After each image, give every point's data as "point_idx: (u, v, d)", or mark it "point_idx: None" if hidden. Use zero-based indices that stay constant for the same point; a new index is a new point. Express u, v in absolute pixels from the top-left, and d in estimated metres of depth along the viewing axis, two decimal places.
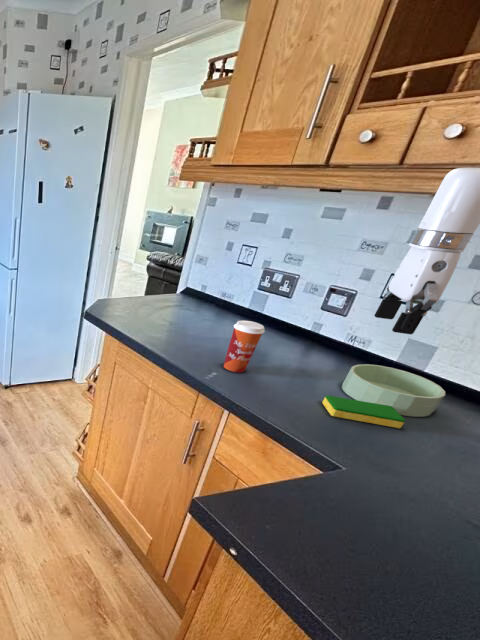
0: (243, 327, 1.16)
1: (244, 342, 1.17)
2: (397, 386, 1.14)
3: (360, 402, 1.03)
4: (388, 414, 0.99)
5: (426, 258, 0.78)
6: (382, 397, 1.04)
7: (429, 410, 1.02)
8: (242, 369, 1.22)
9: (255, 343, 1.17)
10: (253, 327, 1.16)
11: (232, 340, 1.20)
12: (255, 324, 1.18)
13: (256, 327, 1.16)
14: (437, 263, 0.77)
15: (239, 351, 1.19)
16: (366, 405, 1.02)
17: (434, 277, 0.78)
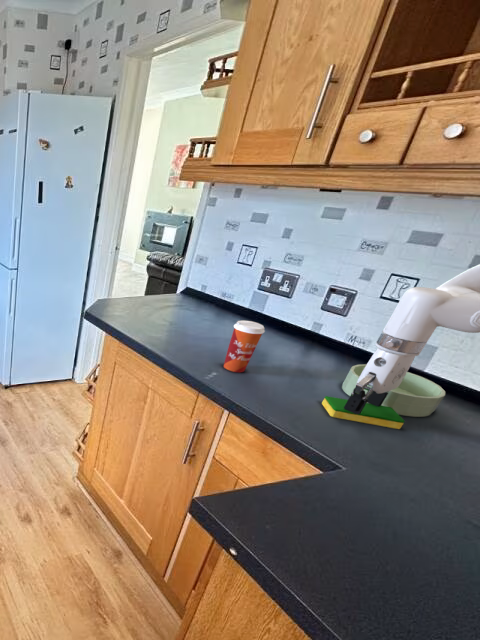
0: (243, 327, 1.16)
1: (244, 342, 1.17)
2: None
3: None
4: (387, 415, 0.99)
5: None
6: None
7: (429, 410, 1.02)
8: (242, 369, 1.22)
9: (255, 343, 1.17)
10: (253, 327, 1.16)
11: (232, 340, 1.20)
12: (255, 324, 1.18)
13: (256, 327, 1.16)
14: (381, 359, 0.94)
15: (239, 351, 1.19)
16: (365, 406, 1.02)
17: (375, 370, 0.94)
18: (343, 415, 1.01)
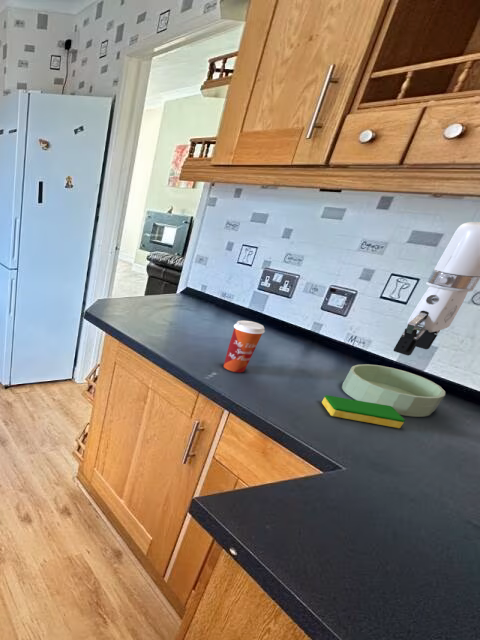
0: (243, 327, 1.16)
1: (244, 342, 1.17)
2: (397, 386, 1.14)
3: (360, 402, 1.03)
4: (388, 414, 0.99)
5: (425, 292, 0.95)
6: (382, 397, 1.04)
7: (429, 410, 1.02)
8: (242, 369, 1.22)
9: (255, 343, 1.17)
10: (253, 327, 1.16)
11: (232, 340, 1.20)
12: (255, 324, 1.18)
13: (256, 327, 1.16)
14: (434, 297, 0.94)
15: (239, 351, 1.19)
16: (366, 405, 1.02)
17: (427, 308, 0.95)
18: (343, 414, 1.01)
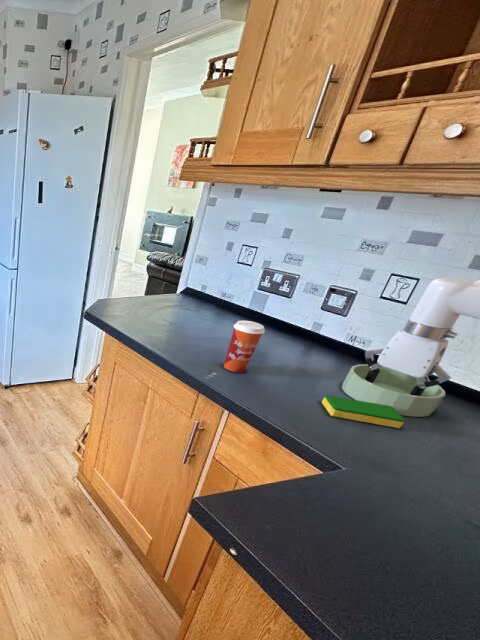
0: (243, 327, 1.16)
1: (244, 342, 1.17)
2: (397, 386, 1.14)
3: (360, 402, 1.03)
4: (388, 414, 0.99)
5: (435, 348, 0.99)
6: (382, 397, 1.04)
7: (429, 410, 1.02)
8: (242, 369, 1.22)
9: (255, 343, 1.17)
10: (253, 327, 1.16)
11: (232, 340, 1.20)
12: (255, 324, 1.18)
13: (256, 327, 1.16)
14: None
15: (239, 351, 1.19)
16: (366, 405, 1.02)
17: (438, 360, 1.00)
18: (343, 414, 1.01)
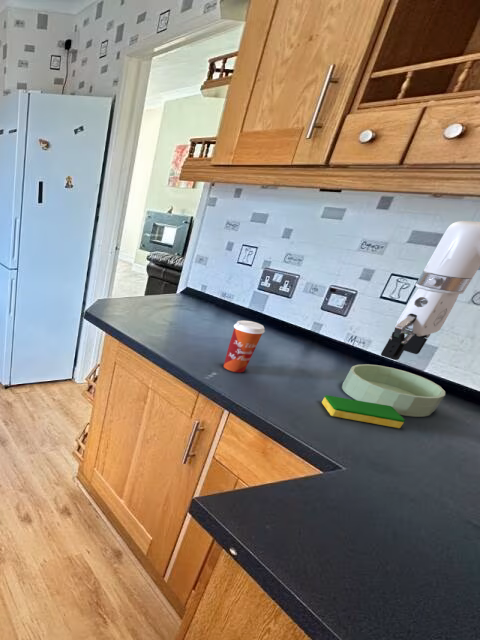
0: (243, 327, 1.16)
1: (244, 342, 1.17)
2: (397, 386, 1.14)
3: (360, 402, 1.03)
4: (388, 414, 0.99)
5: (414, 294, 0.91)
6: (382, 397, 1.04)
7: (429, 410, 1.02)
8: (242, 369, 1.22)
9: (255, 343, 1.17)
10: (253, 327, 1.16)
11: (232, 340, 1.20)
12: (255, 324, 1.18)
13: (256, 327, 1.16)
14: (422, 300, 0.90)
15: (239, 351, 1.19)
16: (366, 405, 1.02)
17: (415, 311, 0.90)
18: (343, 414, 1.01)
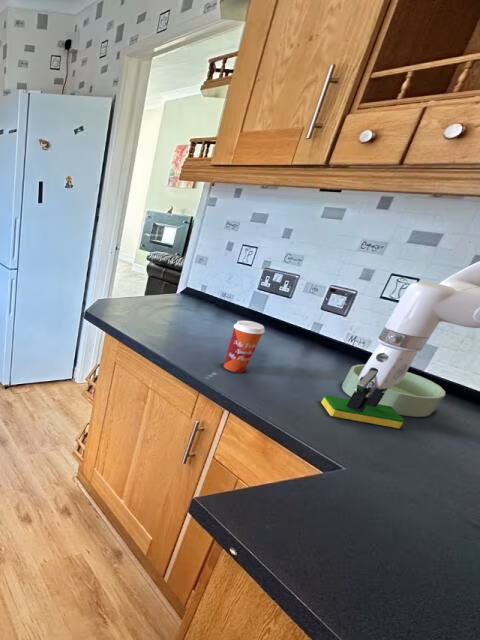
0: (243, 327, 1.16)
1: (244, 342, 1.17)
2: (397, 386, 1.14)
3: None
4: (387, 414, 0.99)
5: None
6: (382, 397, 1.04)
7: (429, 410, 1.02)
8: (242, 369, 1.22)
9: (255, 343, 1.17)
10: (253, 327, 1.16)
11: (232, 340, 1.20)
12: (255, 324, 1.18)
13: (256, 327, 1.16)
14: (383, 355, 0.93)
15: (239, 351, 1.19)
16: None
17: (377, 365, 0.94)
18: (343, 414, 1.01)
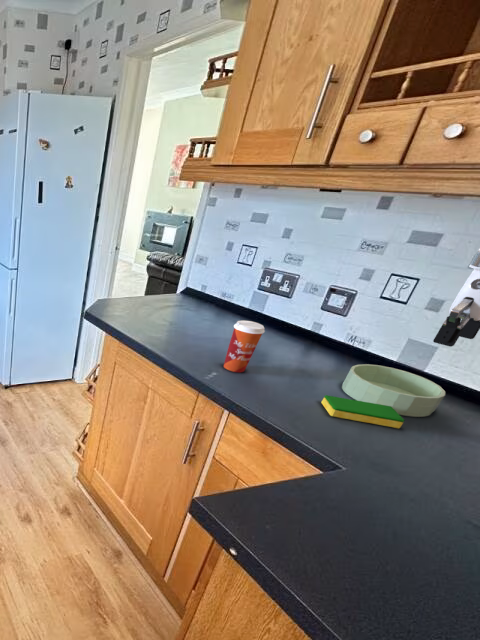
0: (243, 327, 1.16)
1: (244, 342, 1.17)
2: (397, 386, 1.14)
3: (359, 402, 1.03)
4: (387, 414, 0.99)
5: (469, 276, 0.85)
6: (382, 397, 1.04)
7: (429, 410, 1.02)
8: (242, 369, 1.22)
9: (255, 343, 1.17)
10: (253, 327, 1.16)
11: (232, 340, 1.20)
12: (255, 324, 1.18)
13: (256, 327, 1.16)
14: (479, 282, 0.84)
15: (239, 351, 1.19)
16: (365, 405, 1.02)
17: (472, 294, 0.85)
18: (343, 414, 1.01)
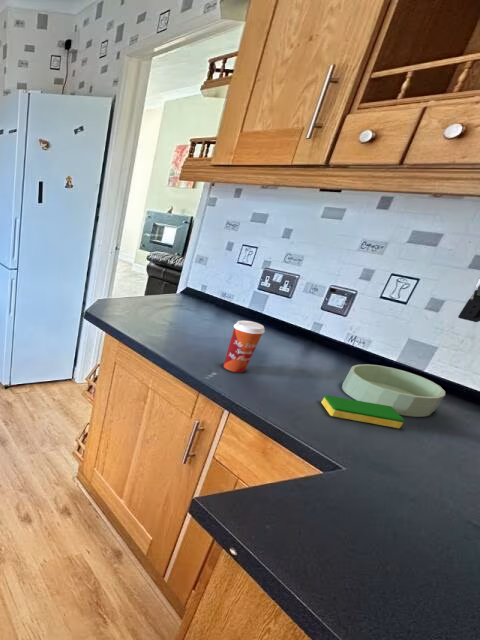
0: (243, 327, 1.16)
1: (244, 342, 1.17)
2: (397, 386, 1.14)
3: (359, 402, 1.03)
4: (387, 414, 0.99)
5: None
6: (382, 397, 1.04)
7: (429, 410, 1.02)
8: (242, 369, 1.22)
9: (255, 343, 1.17)
10: (253, 327, 1.16)
11: (232, 340, 1.20)
12: (255, 324, 1.18)
13: (256, 327, 1.16)
14: None
15: (239, 351, 1.19)
16: (365, 405, 1.02)
17: None
18: (343, 414, 1.01)
